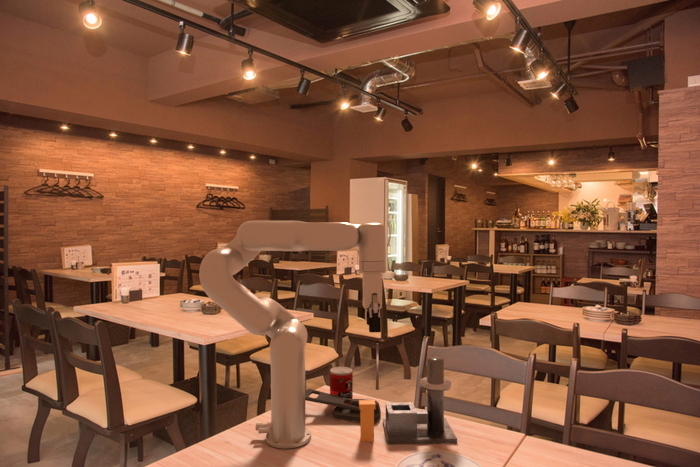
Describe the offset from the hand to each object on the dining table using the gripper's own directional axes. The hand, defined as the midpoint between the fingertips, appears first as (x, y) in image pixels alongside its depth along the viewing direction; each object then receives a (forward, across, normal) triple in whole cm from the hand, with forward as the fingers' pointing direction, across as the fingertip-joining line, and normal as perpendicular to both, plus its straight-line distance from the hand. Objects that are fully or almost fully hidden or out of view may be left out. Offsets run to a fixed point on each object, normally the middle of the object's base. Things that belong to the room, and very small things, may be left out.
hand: (373, 328), depth 129 cm
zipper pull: (+31, -16, -10) cm, 36 cm away
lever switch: (+31, -3, +13) cm, 34 cm away
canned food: (+31, -27, -9) cm, 42 cm away
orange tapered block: (+31, +1, -2) cm, 31 cm away
